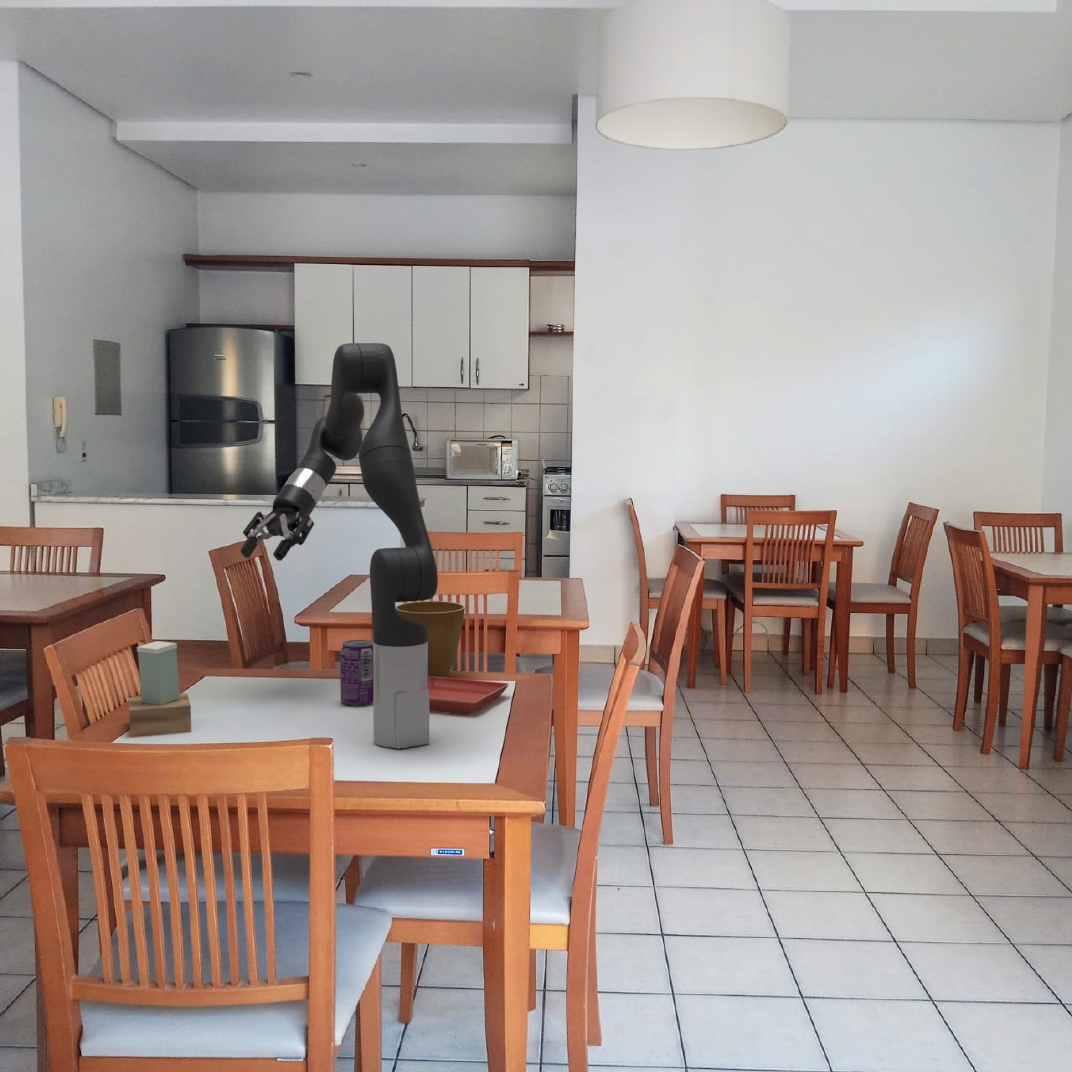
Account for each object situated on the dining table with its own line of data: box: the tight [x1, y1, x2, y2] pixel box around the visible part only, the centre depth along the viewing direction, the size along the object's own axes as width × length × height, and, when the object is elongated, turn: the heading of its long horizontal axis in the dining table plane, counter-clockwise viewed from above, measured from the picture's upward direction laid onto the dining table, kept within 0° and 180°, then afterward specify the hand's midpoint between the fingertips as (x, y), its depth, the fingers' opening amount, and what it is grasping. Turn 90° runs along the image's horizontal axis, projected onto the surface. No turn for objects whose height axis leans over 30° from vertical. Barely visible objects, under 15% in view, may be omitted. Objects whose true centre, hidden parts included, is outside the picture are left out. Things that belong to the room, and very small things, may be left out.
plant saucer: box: [428, 677, 510, 716], centre depth 203 cm, size 18×18×3 cm
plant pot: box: [395, 600, 466, 678], centre depth 223 cm, size 15×15×16 cm
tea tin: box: [136, 640, 180, 705], centre depth 183 cm, size 5×5×10 cm
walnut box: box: [128, 692, 192, 738], centre depth 184 cm, size 10×10×5 cm
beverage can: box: [339, 639, 373, 707], centre depth 202 cm, size 7×7×12 cm
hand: (260, 556), depth 200 cm, fingers open, 8 cm apart
